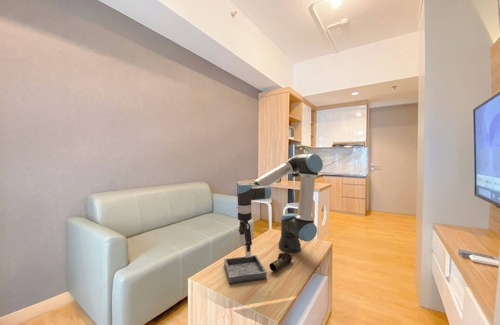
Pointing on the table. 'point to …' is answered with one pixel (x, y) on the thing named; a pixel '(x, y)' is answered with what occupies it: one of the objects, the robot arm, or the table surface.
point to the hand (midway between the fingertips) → (245, 251)
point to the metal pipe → (280, 261)
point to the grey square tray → (244, 269)
